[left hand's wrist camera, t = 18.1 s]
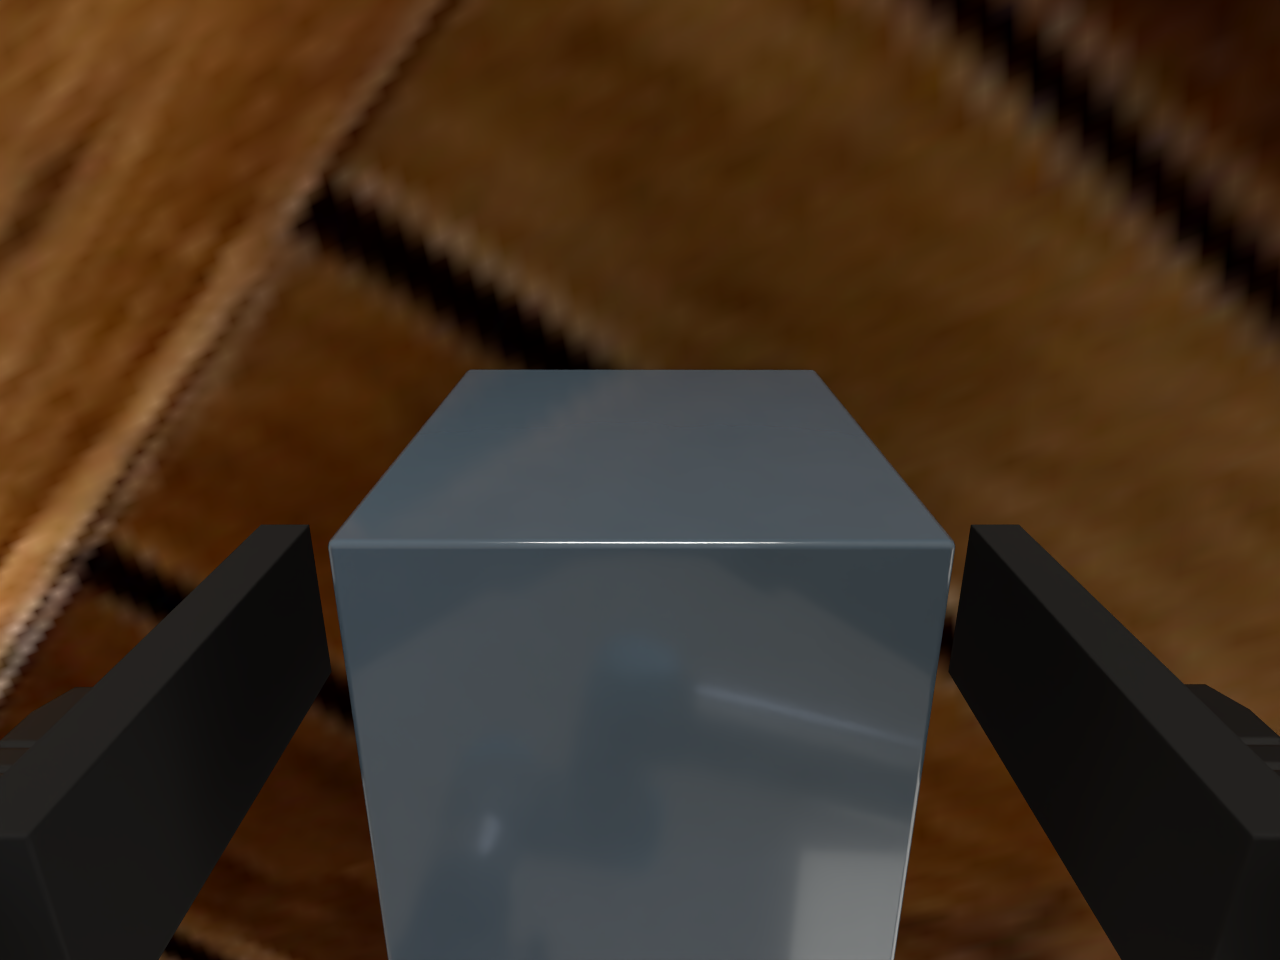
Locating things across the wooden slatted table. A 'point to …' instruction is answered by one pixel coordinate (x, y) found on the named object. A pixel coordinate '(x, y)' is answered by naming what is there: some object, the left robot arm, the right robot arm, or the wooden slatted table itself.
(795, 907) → the block
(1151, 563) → the wooden slatted table surface
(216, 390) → the wooden slatted table surface
